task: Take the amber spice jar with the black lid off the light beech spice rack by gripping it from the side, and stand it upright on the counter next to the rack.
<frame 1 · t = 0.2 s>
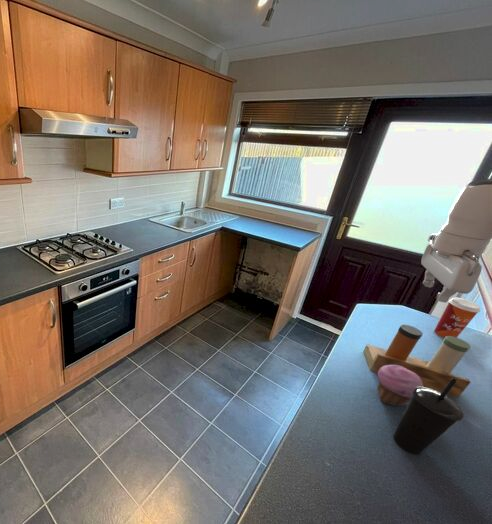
hand: (433, 293, 76), 25 cm above the countertop, tool pointing down, fingers open, 8 cm apart
drinking cup: (405, 443, 63), on the countertop
cupcake: (388, 399, 74), on the countertop
spice rack: (406, 372, 83), on the countertop
amber jar: (393, 359, 84), point 3 cm above the countertop, touching spice rack
paper cup: (444, 335, 101), on the countertop
sage jar: (436, 371, 80), point 3 cm above the countertop, touching spice rack
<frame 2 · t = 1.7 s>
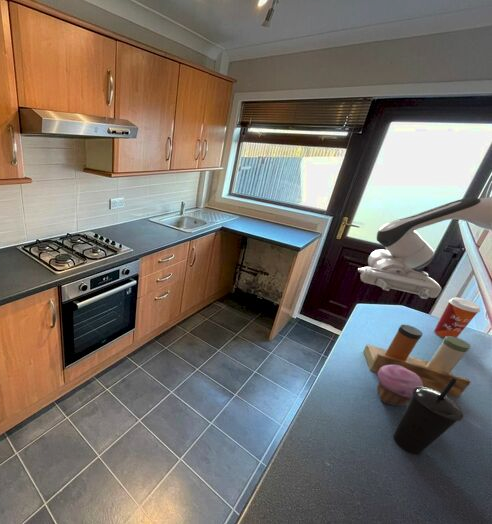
hand: (405, 292, 86), 20 cm above the countertop, tool horizontal, fingers open, 8 cm apart
nothing on the countertop moved.
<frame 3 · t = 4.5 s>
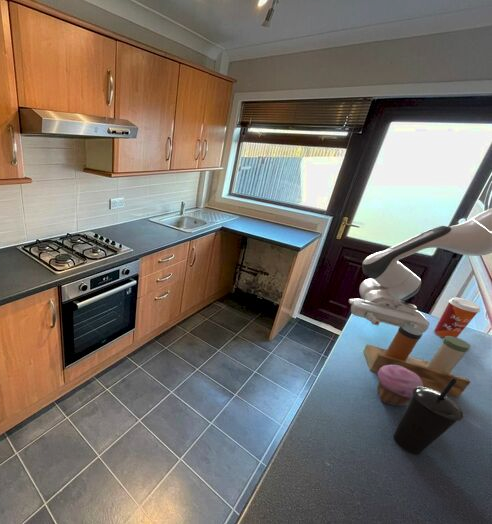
hand: (394, 327, 88), 9 cm above the countertop, tool horizontal, fingers open, 8 cm apart
nothing on the countertop moved.
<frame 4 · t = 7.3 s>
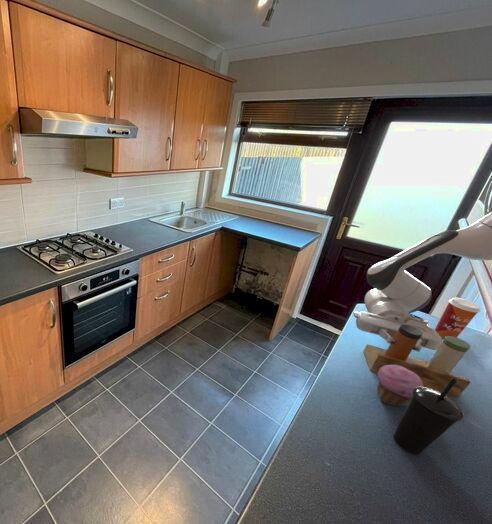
hand: (404, 345, 80), 9 cm above the countertop, tool horizontal, fingers closed on amber jar, 4 cm apart
amber jar: (393, 359, 84), point 3 cm above the countertop, touching gripper, spice rack
everything else where it was.
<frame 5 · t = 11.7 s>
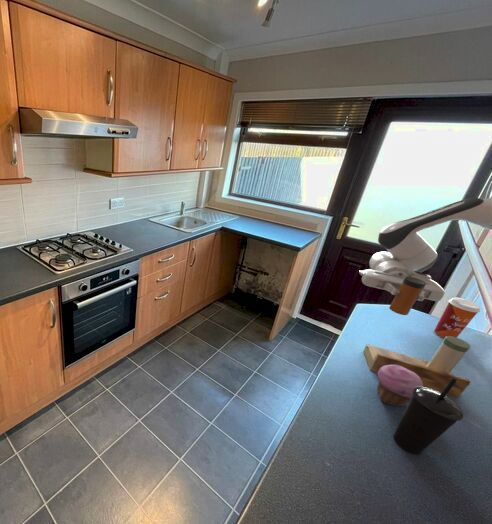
hand: (408, 295, 84), 20 cm above the countertop, tool horizontal, fingers closed on amber jar, 4 cm apart
amber jar: (398, 310, 88), point 14 cm above the countertop, touching gripper
everything else where it was.
when the fingers open (6 cm above the countertop, at t = 16.4 s): amber jar stays where it is, on the countertop.
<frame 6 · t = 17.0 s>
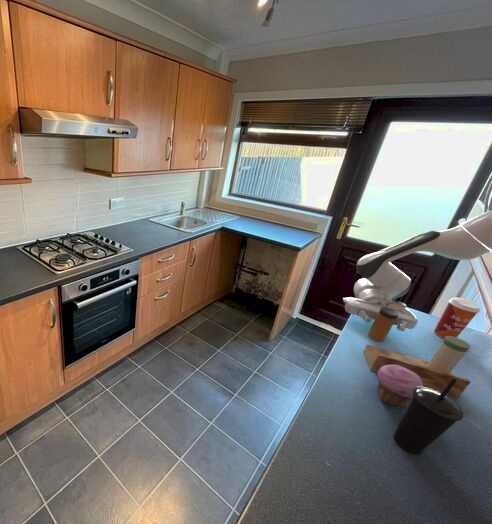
hand: (384, 324, 94), 6 cm above the countertop, tool horizontal, fingers open, 8 cm apart
amber jar: (375, 337, 97), on the countertop
everything else where it was.
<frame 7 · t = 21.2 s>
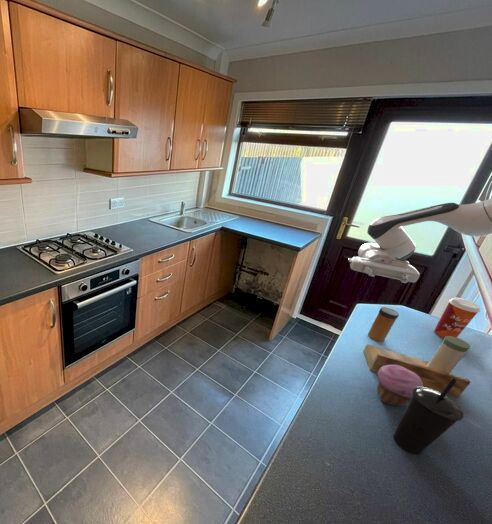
hand: (388, 277, 99), 18 cm above the countertop, tool horizontal, fingers open, 8 cm apart
nothing on the countertop moved.
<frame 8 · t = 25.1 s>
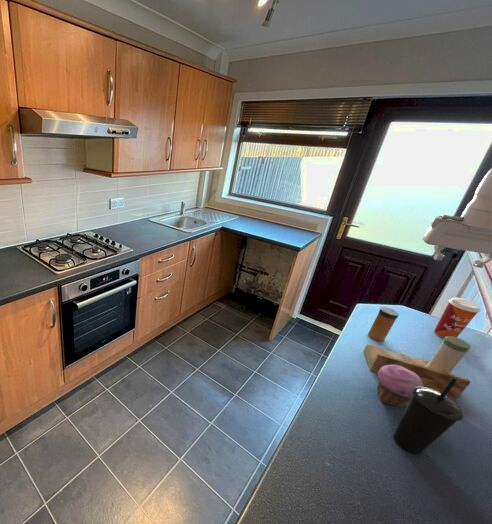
hand: (456, 263, 86), 29 cm above the countertop, tool pointing down, fingers open, 8 cm apart
nothing on the countertop moved.
at the end: amber jar inside the target area (0.1 cm from its centre), on the countertop; amber jar tilted 0°; sage jar moved 0.0 cm from its start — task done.
